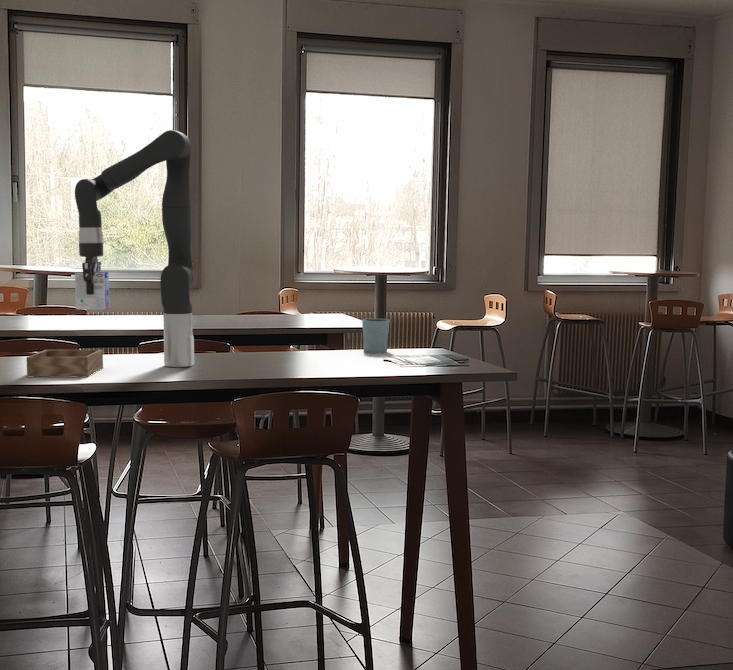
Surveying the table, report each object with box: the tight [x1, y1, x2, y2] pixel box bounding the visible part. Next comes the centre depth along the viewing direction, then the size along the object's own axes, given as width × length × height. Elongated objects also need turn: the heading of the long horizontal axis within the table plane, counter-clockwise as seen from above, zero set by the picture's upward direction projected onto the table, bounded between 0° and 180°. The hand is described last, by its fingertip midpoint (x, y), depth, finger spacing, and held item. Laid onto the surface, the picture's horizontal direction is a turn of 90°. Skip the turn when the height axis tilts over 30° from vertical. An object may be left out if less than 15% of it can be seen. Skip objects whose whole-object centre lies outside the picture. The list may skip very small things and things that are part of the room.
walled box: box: [26, 349, 104, 377], centre depth 282 cm, size 18×18×6 cm
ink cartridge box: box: [74, 267, 110, 311], centre depth 297 cm, size 10×6×14 cm, turn 93°
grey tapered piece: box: [361, 317, 391, 354], centre depth 335 cm, size 10×10×12 cm
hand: (92, 293), depth 298 cm, fingers closed on ink cartridge box, 5 cm apart
